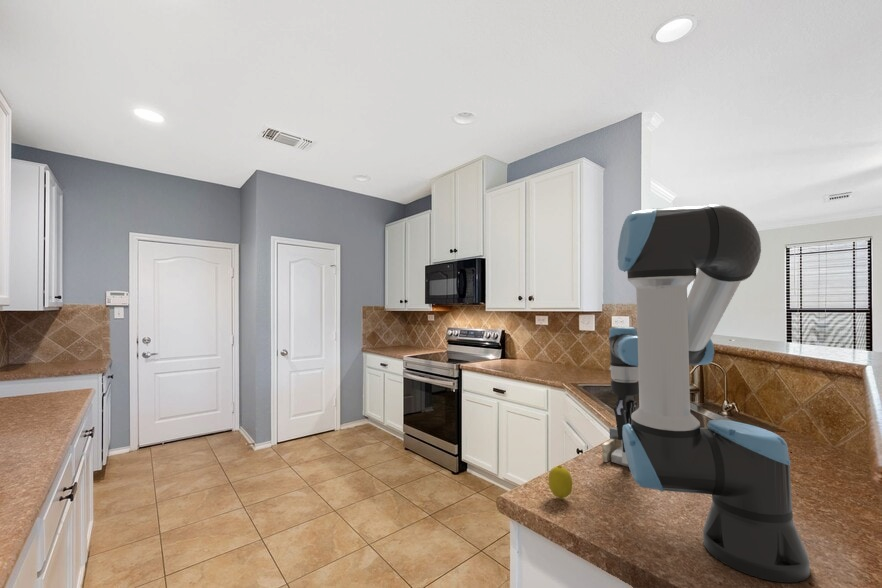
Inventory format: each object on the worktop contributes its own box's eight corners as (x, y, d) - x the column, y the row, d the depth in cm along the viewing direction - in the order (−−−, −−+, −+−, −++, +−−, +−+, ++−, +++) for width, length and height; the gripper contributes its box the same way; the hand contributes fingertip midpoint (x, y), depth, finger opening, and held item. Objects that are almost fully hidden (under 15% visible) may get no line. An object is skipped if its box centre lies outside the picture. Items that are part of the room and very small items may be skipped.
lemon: (562, 492, 97) (561, 459, 97) (577, 502, 92) (576, 467, 92) (544, 496, 95) (543, 463, 95) (558, 506, 90) (557, 471, 90)
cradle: (656, 474, 106) (655, 455, 106) (602, 461, 116) (602, 444, 116) (664, 465, 112) (663, 447, 112) (612, 453, 122) (612, 437, 122)
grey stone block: (613, 473, 116) (604, 455, 116) (621, 462, 120) (612, 444, 121) (646, 473, 109) (637, 454, 109) (653, 461, 113) (644, 442, 114)
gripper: (619, 376, 120) (622, 454, 118) (603, 381, 110) (606, 466, 109) (645, 378, 115) (648, 460, 113) (631, 384, 105) (634, 473, 104)
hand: (628, 463), depth 111 cm, fingers closed
